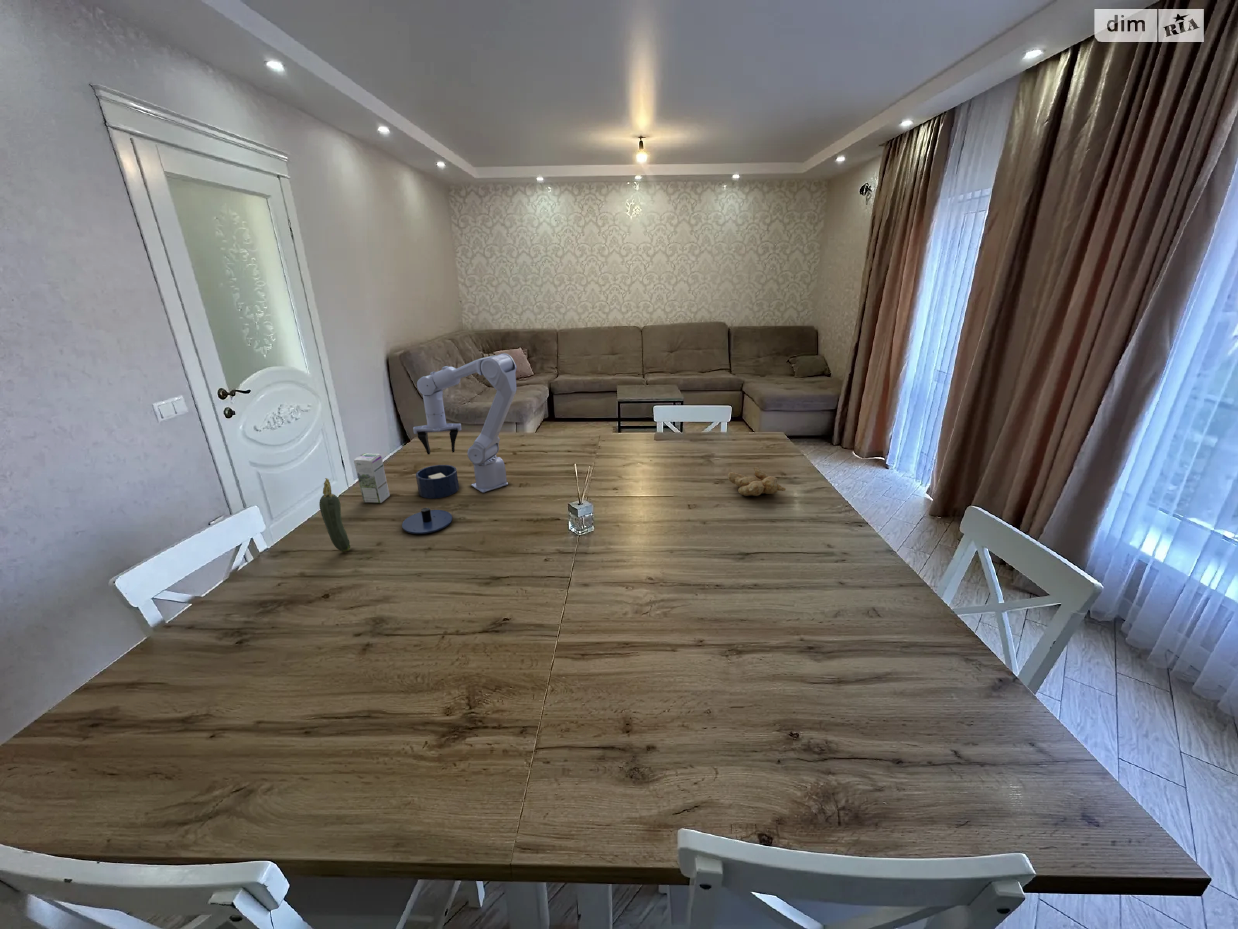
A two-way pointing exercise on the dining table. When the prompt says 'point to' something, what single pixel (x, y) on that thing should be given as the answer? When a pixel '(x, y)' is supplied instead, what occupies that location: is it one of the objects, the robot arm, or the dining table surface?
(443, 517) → the lid
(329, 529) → the vegetable
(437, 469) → the pot
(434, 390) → the robot arm
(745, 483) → the ginger root
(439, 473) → the block
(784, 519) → the dining table surface
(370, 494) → the syrup box
